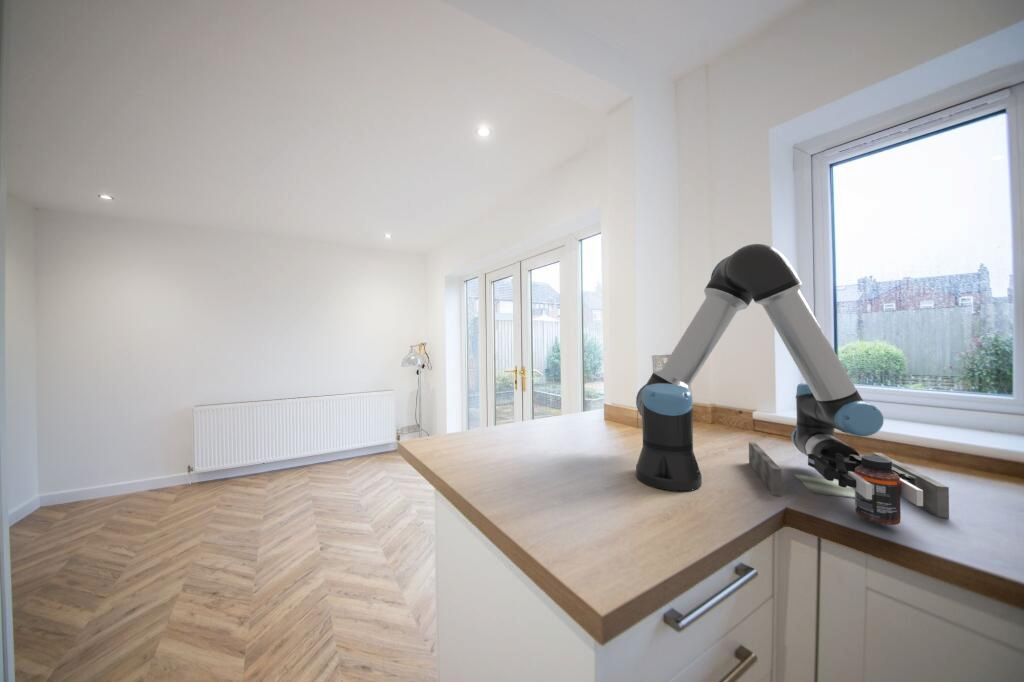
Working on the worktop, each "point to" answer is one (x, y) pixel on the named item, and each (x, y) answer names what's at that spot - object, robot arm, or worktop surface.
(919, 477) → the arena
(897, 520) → the supplement bottle
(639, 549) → the worktop surface
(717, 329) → the robot arm
